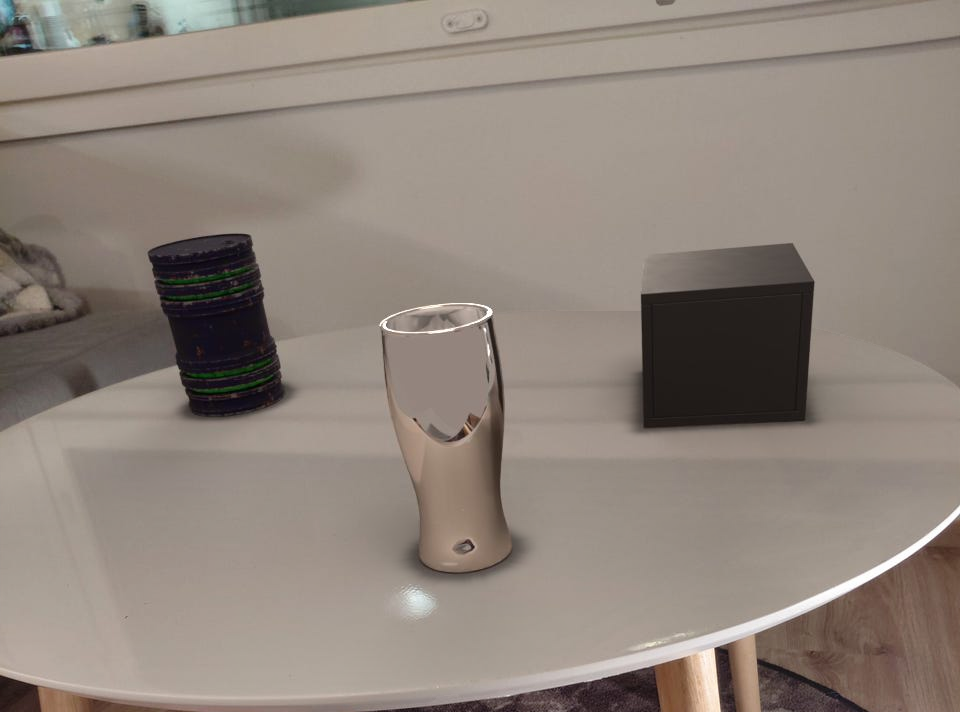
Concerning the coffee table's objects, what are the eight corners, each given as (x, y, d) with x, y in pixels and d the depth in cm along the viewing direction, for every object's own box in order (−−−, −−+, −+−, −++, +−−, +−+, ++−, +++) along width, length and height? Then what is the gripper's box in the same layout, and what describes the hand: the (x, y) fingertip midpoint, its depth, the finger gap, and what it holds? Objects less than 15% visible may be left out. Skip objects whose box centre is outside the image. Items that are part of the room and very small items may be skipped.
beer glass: (404, 540, 66) (367, 314, 58) (503, 520, 67) (480, 296, 59) (424, 585, 60) (386, 341, 52) (532, 563, 61) (510, 320, 53)
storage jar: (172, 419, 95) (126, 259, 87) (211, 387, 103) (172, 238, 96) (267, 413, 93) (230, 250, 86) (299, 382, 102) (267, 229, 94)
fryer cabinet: (646, 373, 91) (643, 255, 86) (785, 365, 89) (792, 242, 83) (643, 428, 79) (640, 294, 74) (805, 420, 77) (814, 281, 71)
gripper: (707, -223, 72) (705, -2, 79) (699, -177, 89) (698, 2, 96) (621, -208, 73) (627, 8, 81) (630, -166, 91) (634, 10, 98)
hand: (665, 5), depth 89 cm, fingers closed
